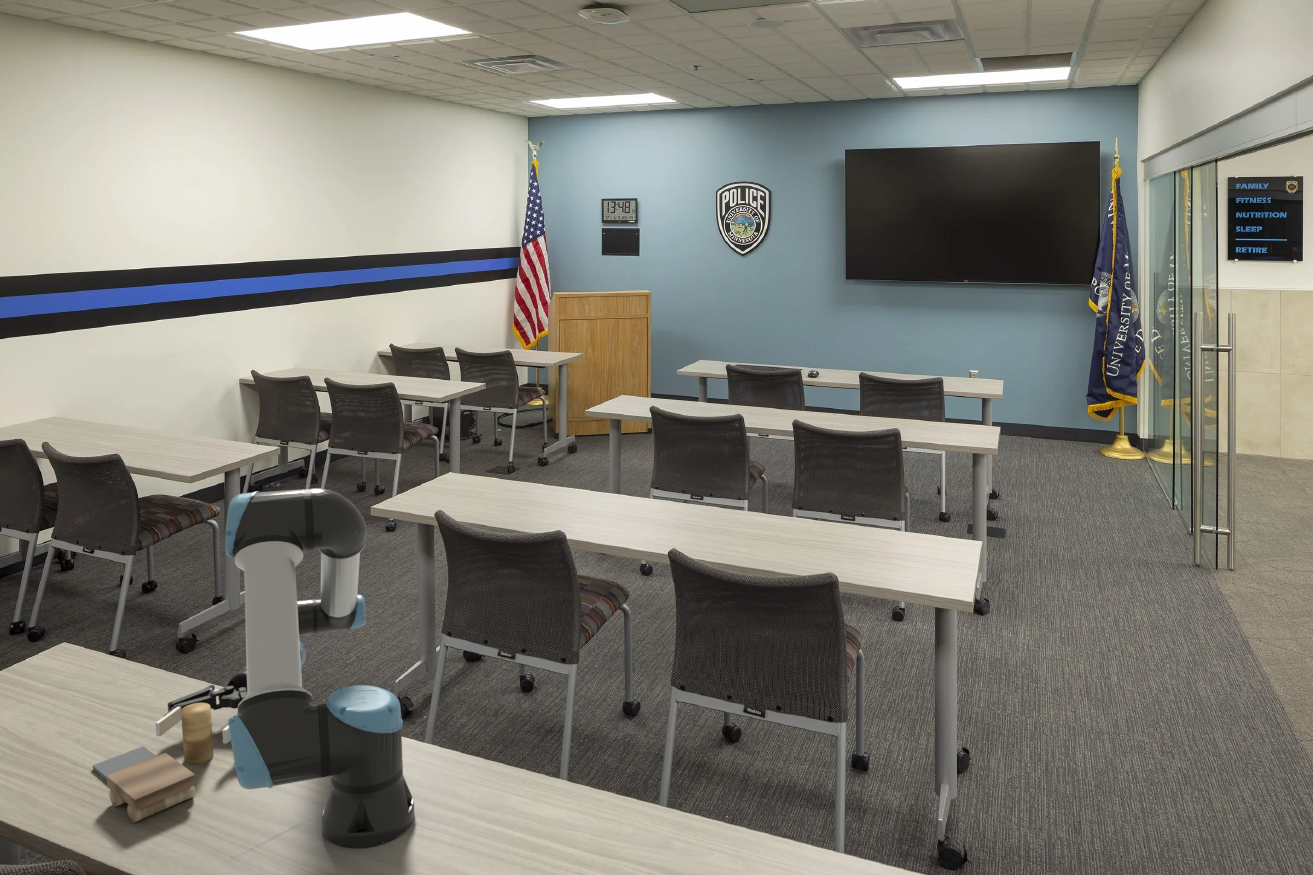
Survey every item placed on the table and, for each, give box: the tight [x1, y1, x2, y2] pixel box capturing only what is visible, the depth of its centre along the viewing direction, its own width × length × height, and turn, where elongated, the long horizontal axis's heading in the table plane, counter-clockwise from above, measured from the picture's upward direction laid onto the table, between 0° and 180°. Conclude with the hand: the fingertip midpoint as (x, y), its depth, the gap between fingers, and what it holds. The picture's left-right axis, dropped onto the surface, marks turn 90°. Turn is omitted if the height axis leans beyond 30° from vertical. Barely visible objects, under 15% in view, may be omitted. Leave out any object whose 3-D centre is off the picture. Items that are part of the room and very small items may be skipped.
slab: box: [106, 752, 197, 824], centre depth 161 cm, size 11×10×5 cm
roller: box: [181, 703, 214, 766], centre depth 175 cm, size 5×5×10 cm
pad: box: [92, 745, 157, 782], centre depth 172 cm, size 9×9×1 cm
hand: (190, 733), depth 173 cm, fingers open, 13 cm apart
